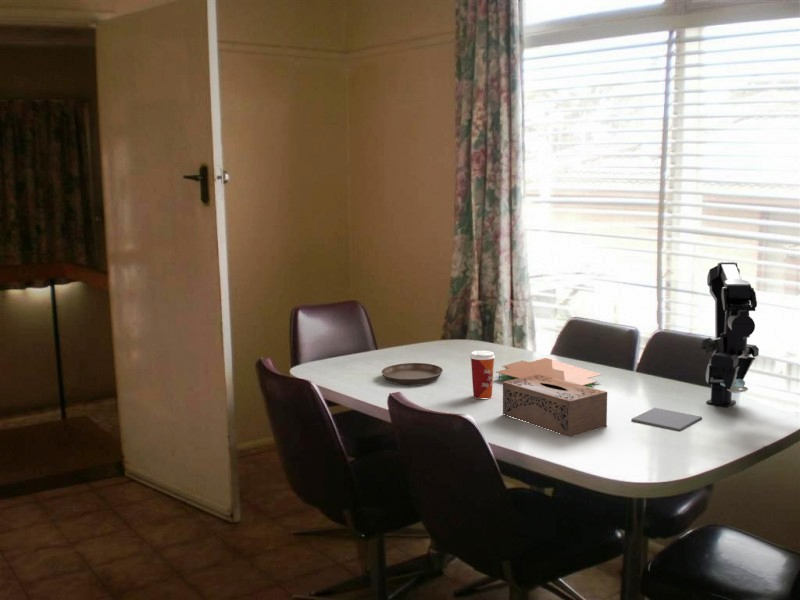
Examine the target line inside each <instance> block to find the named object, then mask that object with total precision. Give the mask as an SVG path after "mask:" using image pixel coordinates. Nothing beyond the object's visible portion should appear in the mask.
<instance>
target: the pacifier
mask: <svg viewBox="0 0 800 600" xmlns="http://www.w3.org/2000/svg"><path fill="white" fill-rule="evenodd" d="M736 376H737V374H736ZM736 376H735V378H736ZM735 383H736V384H735ZM720 385H722V386H725V384H724V383H720ZM745 385H746V382H745V380H744V379H743V380H742V379H734V381H733V384H732V386H731V389H727V390H728V391H730V392H732V393H745V392H747V391H748V390H749V388H748V387H747V386H745Z"/></svg>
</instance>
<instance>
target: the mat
mask: <svg viewBox="0 0 800 600" xmlns="http://www.w3.org/2000/svg"><path fill="white" fill-rule="evenodd" d="M702 419H703V418H702V416H701V415H695V414H691V413H685V412H679V411H673V410H669V409H663V408H659V407H652V408H651V409H650V410H647V411H645V412H643V413H641V414H638V415H636V416H634V417H632V418H631V422H634V423H635V422H636V423H639V424H645V425H650V426H653V425H654V426H653V427H658V426H659V428H663V427H664V428H663V429H668V428H669V429H668V430H674V431H678V430H680V431H682V430H684V429H686V428H687V426H688V427H689V425H690V426H691V425H693V424H695V423H697V422H699V421H700V420H702ZM698 420H699V421H698ZM696 421H697V422H696ZM685 427H686V428H685ZM683 428H684V429H683ZM681 429H682V430H681Z"/></svg>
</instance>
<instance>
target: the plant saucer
mask: <svg viewBox="0 0 800 600" xmlns="http://www.w3.org/2000/svg"><path fill="white" fill-rule="evenodd" d="M443 371H444V370H443V368H442V367H441V366H440V365H439V366H438V365H436V364H432V363H423V362H405V363H399V364H393V365H389V366H386V367H385V368H383V369H382V370H381V374H382V376H383V377H384V378H385V380H386V381H388V382H390V383H391V382H392V384H394V383H395V385H399V384H400V386H401V385H402V386H420V385H422V386H423V385H427V384H430V383H433V382H435V381H437V380H438V379H439V378H440V377H441V375H442V374H443Z"/></svg>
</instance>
